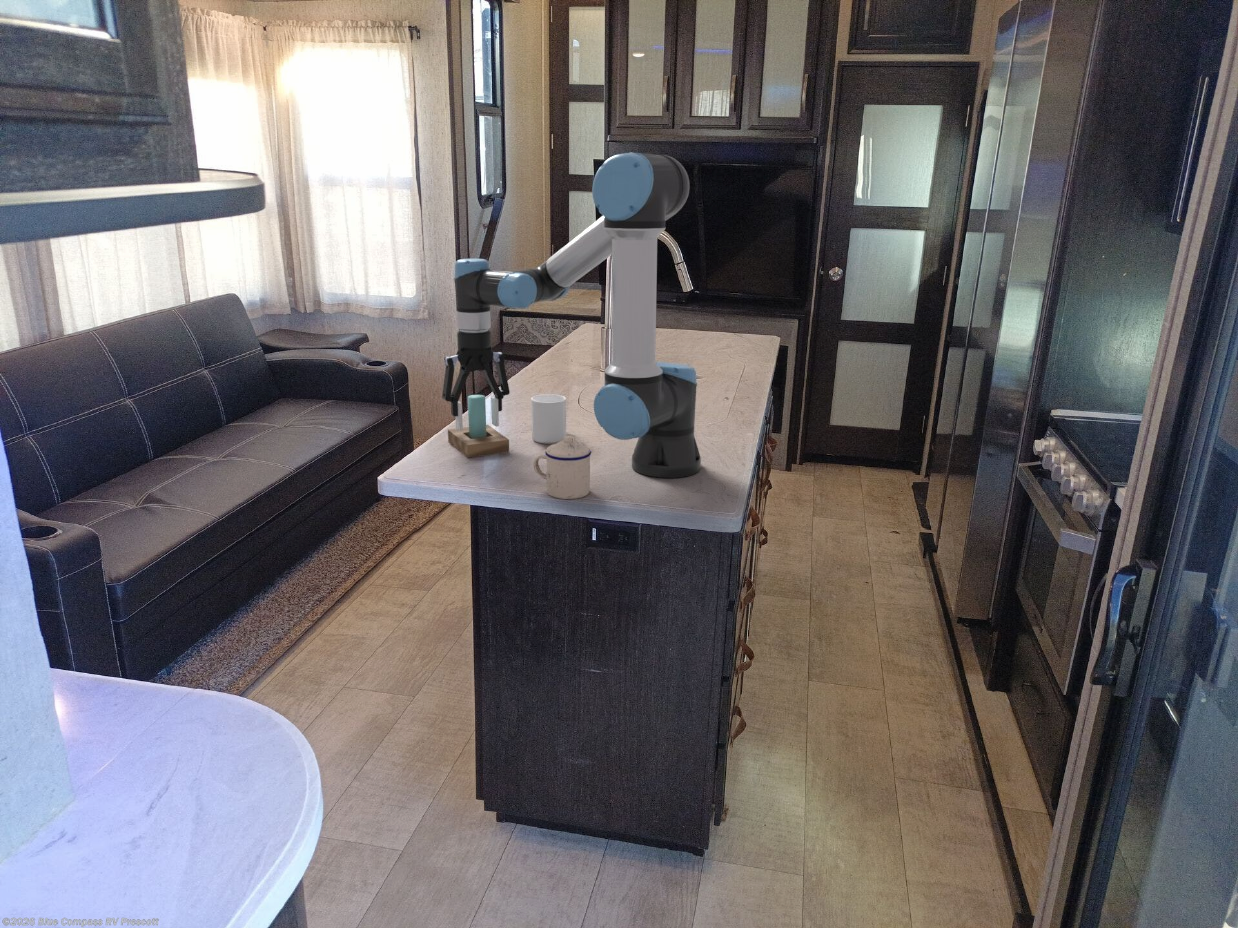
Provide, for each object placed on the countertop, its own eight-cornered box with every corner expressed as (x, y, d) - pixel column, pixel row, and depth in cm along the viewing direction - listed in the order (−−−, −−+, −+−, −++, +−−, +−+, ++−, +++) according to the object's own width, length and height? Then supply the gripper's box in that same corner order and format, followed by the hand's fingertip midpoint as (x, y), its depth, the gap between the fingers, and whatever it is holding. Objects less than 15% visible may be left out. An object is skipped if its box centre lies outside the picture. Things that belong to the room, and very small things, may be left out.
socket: (509, 452, 201) (508, 439, 200) (467, 457, 196) (466, 445, 195) (488, 436, 213) (487, 424, 212) (448, 441, 208) (447, 429, 207)
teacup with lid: (597, 488, 179) (597, 433, 175) (580, 502, 171) (580, 445, 167) (543, 480, 183) (543, 427, 179) (525, 494, 175) (523, 438, 171)
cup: (525, 441, 209) (524, 400, 206) (549, 428, 220) (548, 389, 217) (556, 445, 206) (556, 404, 203) (578, 433, 217) (578, 393, 214)
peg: (489, 448, 204) (487, 397, 200) (472, 450, 202) (470, 399, 198) (483, 443, 207) (481, 394, 203) (467, 445, 205) (465, 395, 202)
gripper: (511, 324, 204) (513, 418, 211) (423, 330, 194) (428, 428, 201) (523, 329, 197) (525, 426, 205) (433, 335, 188) (438, 436, 195)
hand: (477, 427), depth 203 cm, fingers open, 8 cm apart
